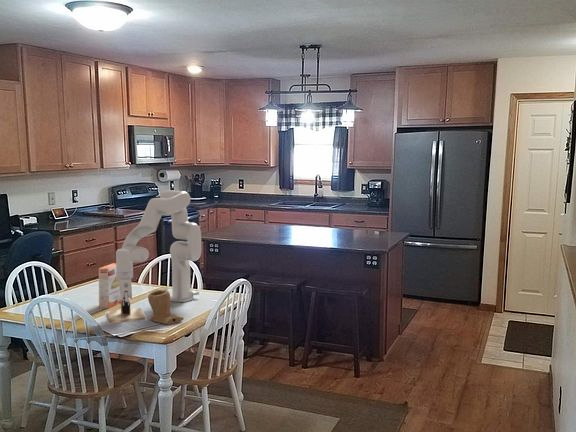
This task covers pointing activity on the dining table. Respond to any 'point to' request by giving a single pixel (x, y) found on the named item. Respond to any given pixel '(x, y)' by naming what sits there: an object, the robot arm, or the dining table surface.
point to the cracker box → (108, 287)
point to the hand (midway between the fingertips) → (125, 311)
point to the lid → (125, 315)
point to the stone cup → (162, 307)
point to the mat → (125, 321)
